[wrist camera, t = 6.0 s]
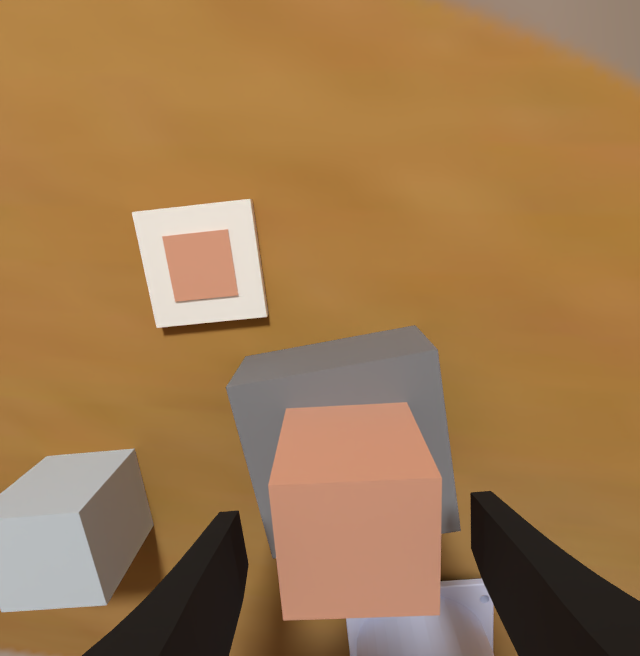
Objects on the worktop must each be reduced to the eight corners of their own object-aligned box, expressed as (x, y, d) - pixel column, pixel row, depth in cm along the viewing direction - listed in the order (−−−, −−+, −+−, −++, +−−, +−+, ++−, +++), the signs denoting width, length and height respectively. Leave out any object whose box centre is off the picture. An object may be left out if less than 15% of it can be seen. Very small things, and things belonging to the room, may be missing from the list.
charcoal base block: (434, 472, 20) (460, 530, 16) (283, 496, 20) (273, 558, 16) (413, 323, 18) (437, 349, 14) (247, 354, 18) (225, 387, 15)
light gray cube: (154, 523, 21) (106, 604, 16) (71, 530, 21) (1, 612, 16) (135, 447, 19) (78, 512, 15) (47, 455, 20) (-34, 521, 15)
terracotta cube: (407, 506, 16) (439, 615, 11) (295, 510, 16) (283, 620, 11) (406, 402, 15) (442, 477, 10) (286, 408, 15) (268, 485, 10)
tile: (268, 314, 18) (266, 317, 17) (161, 324, 18) (155, 328, 17) (252, 199, 16) (249, 198, 16) (137, 212, 17) (130, 212, 16)
